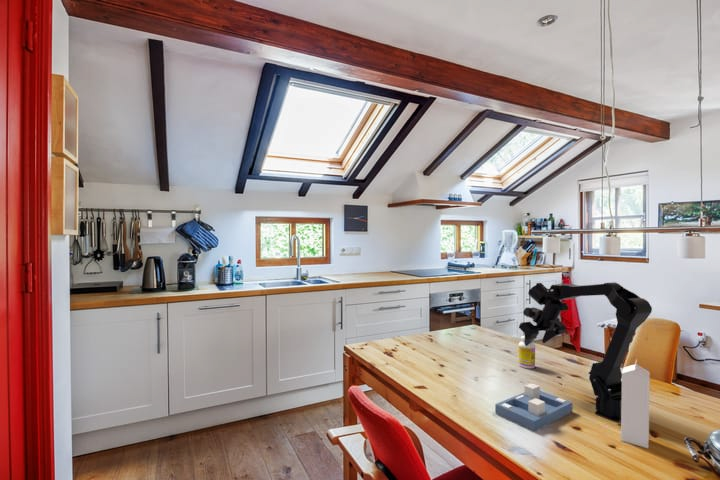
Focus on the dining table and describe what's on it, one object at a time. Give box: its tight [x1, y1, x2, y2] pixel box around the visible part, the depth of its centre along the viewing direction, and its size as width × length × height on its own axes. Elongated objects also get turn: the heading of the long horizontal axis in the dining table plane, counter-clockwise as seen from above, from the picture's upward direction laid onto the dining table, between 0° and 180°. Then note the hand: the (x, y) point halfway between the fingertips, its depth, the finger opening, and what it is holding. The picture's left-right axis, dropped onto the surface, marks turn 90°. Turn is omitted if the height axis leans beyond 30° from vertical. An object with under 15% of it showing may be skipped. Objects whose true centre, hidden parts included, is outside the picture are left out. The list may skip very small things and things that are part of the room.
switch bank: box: [494, 390, 573, 432], centre depth 117 cm, size 13×22×3 cm, turn 124°
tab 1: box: [524, 383, 541, 400], centre depth 123 cm, size 3×4×5 cm
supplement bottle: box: [517, 335, 536, 370], centre depth 159 cm, size 7×7×13 cm
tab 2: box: [528, 398, 545, 417], centre depth 111 cm, size 3×4×5 cm
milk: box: [620, 358, 651, 449], centre depth 101 cm, size 6×6×22 cm
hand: (534, 343), depth 144 cm, fingers open, 9 cm apart
